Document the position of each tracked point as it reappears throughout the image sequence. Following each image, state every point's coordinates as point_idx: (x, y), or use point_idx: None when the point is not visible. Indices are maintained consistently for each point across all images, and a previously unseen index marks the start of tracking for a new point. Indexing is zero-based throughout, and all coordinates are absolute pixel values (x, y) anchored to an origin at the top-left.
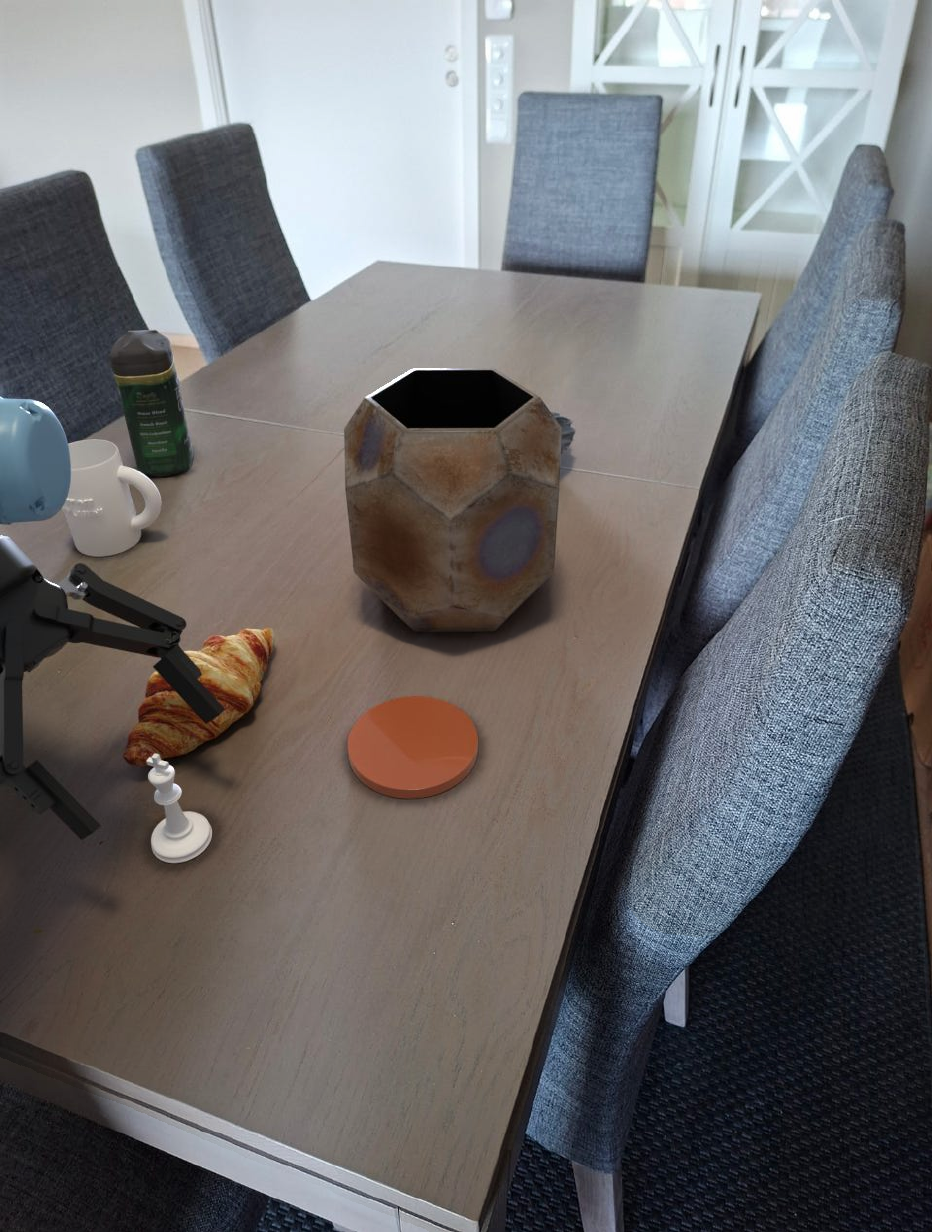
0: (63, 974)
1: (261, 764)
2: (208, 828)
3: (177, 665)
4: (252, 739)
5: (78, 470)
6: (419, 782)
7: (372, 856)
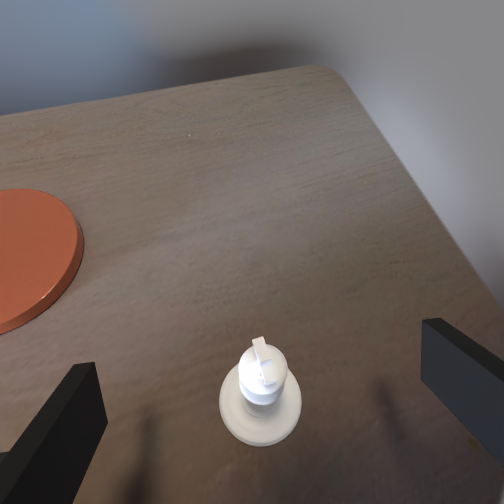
0: None
1: None
2: (232, 369)
3: (5, 483)
4: None
5: None
6: (57, 211)
7: (163, 211)
